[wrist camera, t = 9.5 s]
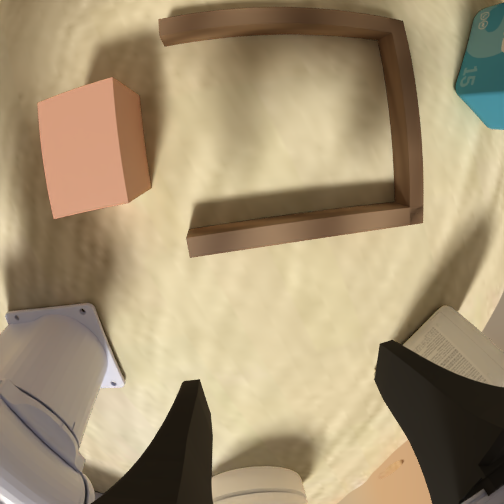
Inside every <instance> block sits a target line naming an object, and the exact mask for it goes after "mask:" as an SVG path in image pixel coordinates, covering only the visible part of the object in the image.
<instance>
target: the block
mask: <svg viewBox="0 0 504 504" xmlns="http://www.w3.org/2000/svg"><path fill="white" fill-rule="evenodd" d="M37 104H38V120H39V131H40V141H41V150H42V158H43V165H44V171H45V178H46V184H47V189H48V195H49V200H50V205H51V209H52V214H53V219H57V218H61V217H65V216H70V215H74V214H78V213H83V212H87V211H92V210H97V209H101V208H106V207H111V206H116V205H121V204H126V203H129V202H131V201H132V200H134V199H135V198H137V197H138V196H140V195H141V194H143V193H145V192H146V191H148V190H149V189H151V182H150V176H149V169H148V162H147V155H146V148H145V141H144V133H143V125H142V116H141V107H140V97H139V95H138V94H137V93H135V92H134V91H132V90H131V89H129V88H128V87H126V86H125V85H123V84H122V83H121V82H119V81H118V80H116V79H115V78H113V77H111V78H107V79H104V80H100V81H97V82H94V83H91V84H87V85H84V86H81V87H78V88H75V89H72V90H70V91H67V92H64V93H61V94H59V95H56V96H53V97H51V98H48V99H46V100H43V101H41V102H38V103H37Z"/></svg>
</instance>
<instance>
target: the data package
mask: <svg viewBox="0 0 504 504" xmlns="http://www.w3.org/2000/svg"><path fill="white" fill-rule="evenodd" d="M455 88H456V93H457V94H458V96H459V97H460V98H461V99H462V100H463V101H464V102H465V103H466V104H467V105H468V106H469V107H470V108H471V109H472V110H473V112H474V113H475V114H476V115H477V116H478V117H479V118H480V119H481V121H482V122H483V123H484V124H485V125H486V126H487V127H488V128H490V129H499V130H504V3H501V4H497V5H494V6H491V7H487V8H484V9H482V10H481V11H480V12H478V13H477V15H476V16H475V18H474V20H473V25H472V29H471V33H470V37H469V41H468V45H467V48H466V52H465V56H464V59H463V62H462V66H461V69H460V72H459V76H458V79H457V82H456V87H455Z"/></svg>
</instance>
